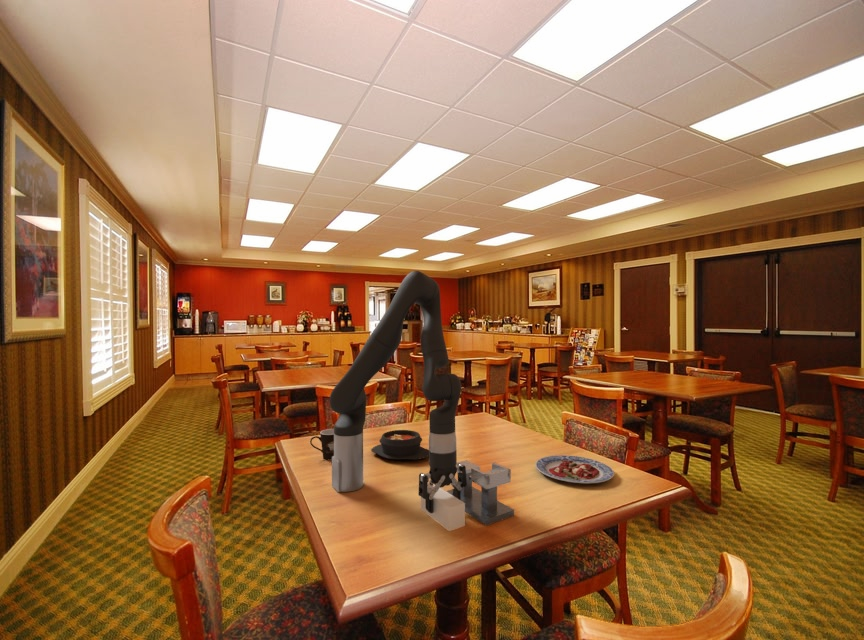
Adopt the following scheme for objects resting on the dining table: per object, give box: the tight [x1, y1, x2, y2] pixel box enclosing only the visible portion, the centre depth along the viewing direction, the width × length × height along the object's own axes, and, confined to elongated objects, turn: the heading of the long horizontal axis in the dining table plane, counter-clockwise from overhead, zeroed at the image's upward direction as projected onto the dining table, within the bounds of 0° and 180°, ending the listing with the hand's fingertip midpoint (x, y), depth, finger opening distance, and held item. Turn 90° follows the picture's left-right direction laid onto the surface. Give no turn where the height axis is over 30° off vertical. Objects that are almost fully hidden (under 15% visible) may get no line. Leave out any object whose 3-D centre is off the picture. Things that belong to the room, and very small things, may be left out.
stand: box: [445, 460, 515, 526], centre depth 113 cm, size 10×20×12 cm, turn 32°
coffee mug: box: [309, 428, 334, 461], centre depth 154 cm, size 12×9×10 cm
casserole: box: [370, 429, 429, 461], centre depth 156 cm, size 25×19×8 cm
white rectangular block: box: [420, 484, 466, 532], centre depth 106 cm, size 5×14×6 cm, turn 32°
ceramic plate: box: [535, 454, 615, 484], centre depth 137 cm, size 26×26×3 cm
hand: (443, 507), depth 106 cm, fingers open, 8 cm apart
